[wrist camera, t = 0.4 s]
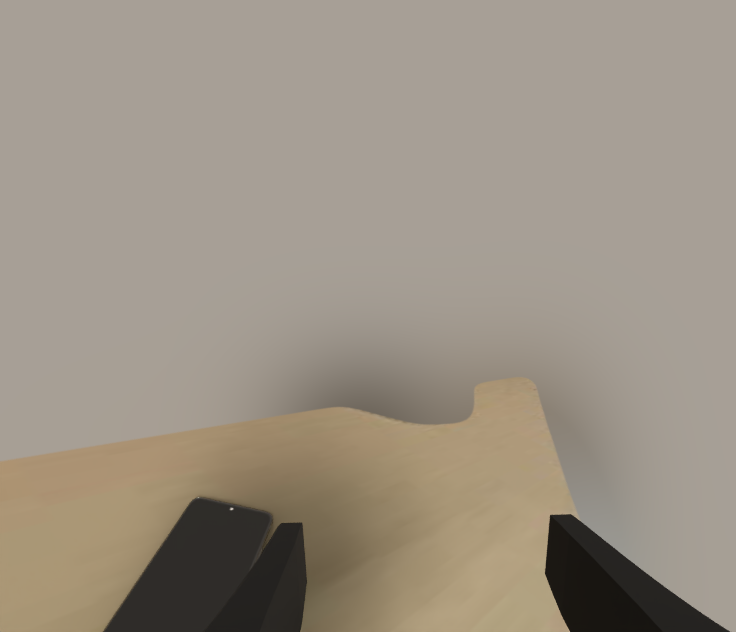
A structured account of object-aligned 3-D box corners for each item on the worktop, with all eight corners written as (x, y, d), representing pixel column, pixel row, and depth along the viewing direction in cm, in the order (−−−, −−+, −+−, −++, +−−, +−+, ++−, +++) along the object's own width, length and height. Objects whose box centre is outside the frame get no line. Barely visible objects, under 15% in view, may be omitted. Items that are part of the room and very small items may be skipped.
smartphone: (13, 760, 18) (194, 494, 33) (17, 770, 19) (194, 503, 34) (159, 799, 18) (276, 512, 33) (160, 809, 18) (275, 521, 33)
